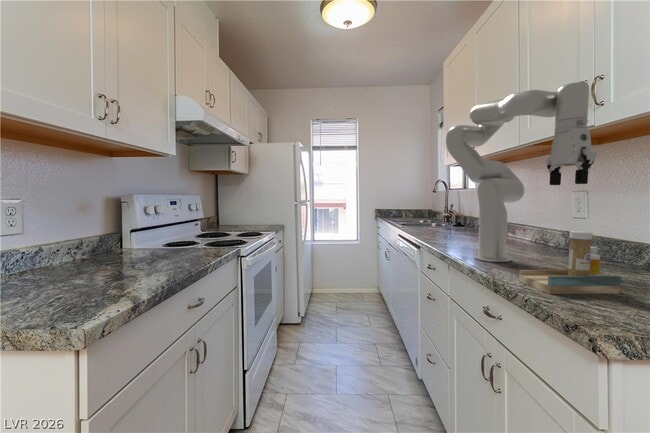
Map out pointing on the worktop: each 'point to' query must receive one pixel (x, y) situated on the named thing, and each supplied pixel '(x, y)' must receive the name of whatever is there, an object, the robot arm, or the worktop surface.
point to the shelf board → (569, 282)
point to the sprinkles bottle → (579, 253)
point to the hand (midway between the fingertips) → (567, 184)
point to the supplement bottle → (594, 262)
